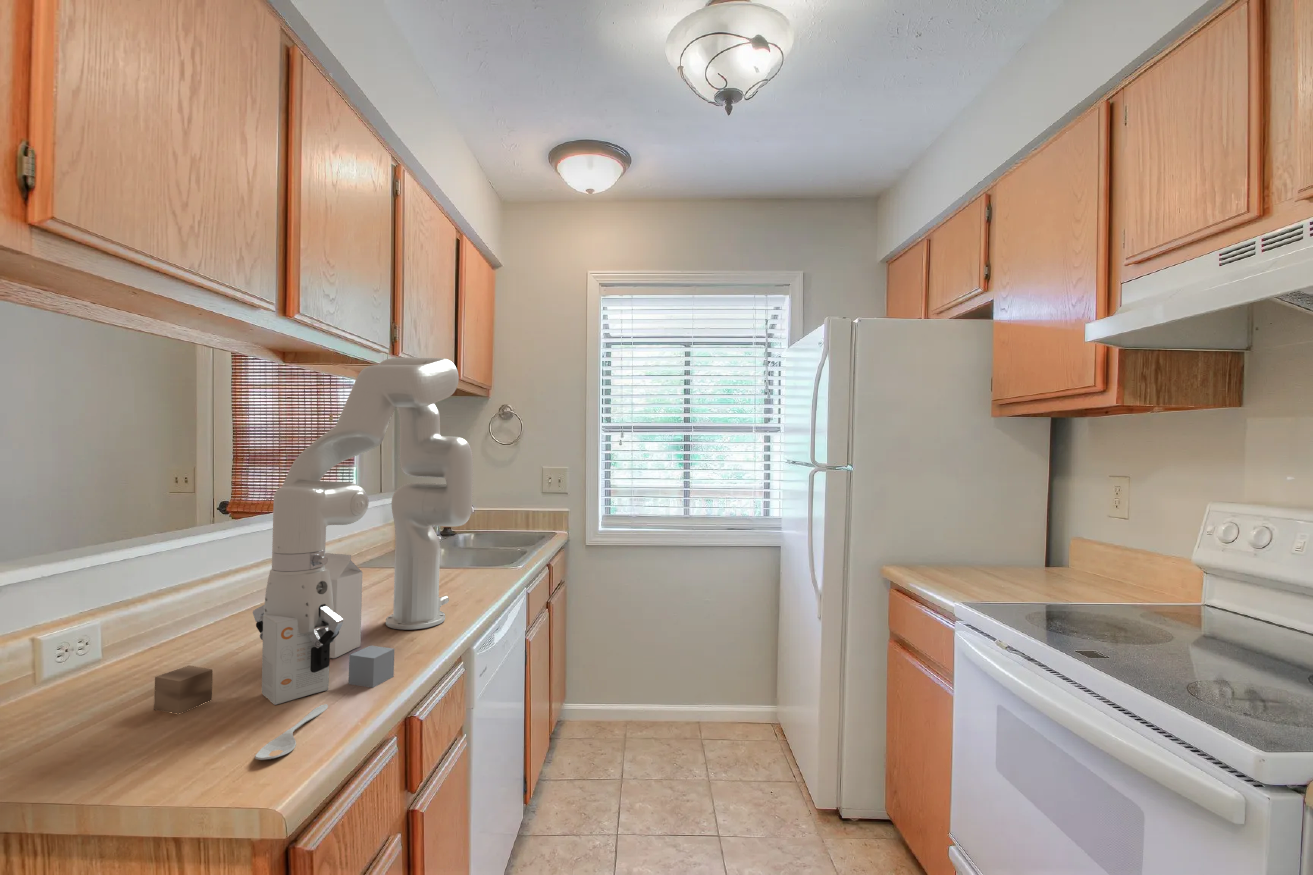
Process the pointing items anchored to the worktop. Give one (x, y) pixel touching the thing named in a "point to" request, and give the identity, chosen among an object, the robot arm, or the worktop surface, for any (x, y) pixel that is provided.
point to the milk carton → (345, 602)
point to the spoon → (287, 737)
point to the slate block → (371, 666)
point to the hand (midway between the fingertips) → (295, 665)
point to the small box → (289, 661)
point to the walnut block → (183, 689)
